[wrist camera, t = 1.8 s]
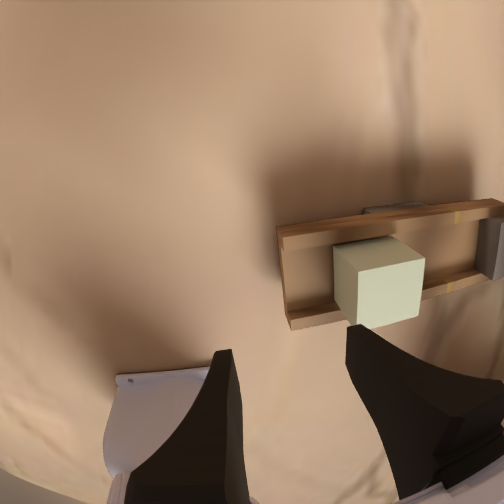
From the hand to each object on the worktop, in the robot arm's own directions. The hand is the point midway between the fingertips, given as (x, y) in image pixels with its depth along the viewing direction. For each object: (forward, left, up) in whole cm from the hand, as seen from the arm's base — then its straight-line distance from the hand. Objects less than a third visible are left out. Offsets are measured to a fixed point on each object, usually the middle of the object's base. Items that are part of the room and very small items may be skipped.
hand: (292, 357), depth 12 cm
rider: (+6, 0, -7) cm, 9 cm away
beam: (+10, 0, -10) cm, 14 cm away
